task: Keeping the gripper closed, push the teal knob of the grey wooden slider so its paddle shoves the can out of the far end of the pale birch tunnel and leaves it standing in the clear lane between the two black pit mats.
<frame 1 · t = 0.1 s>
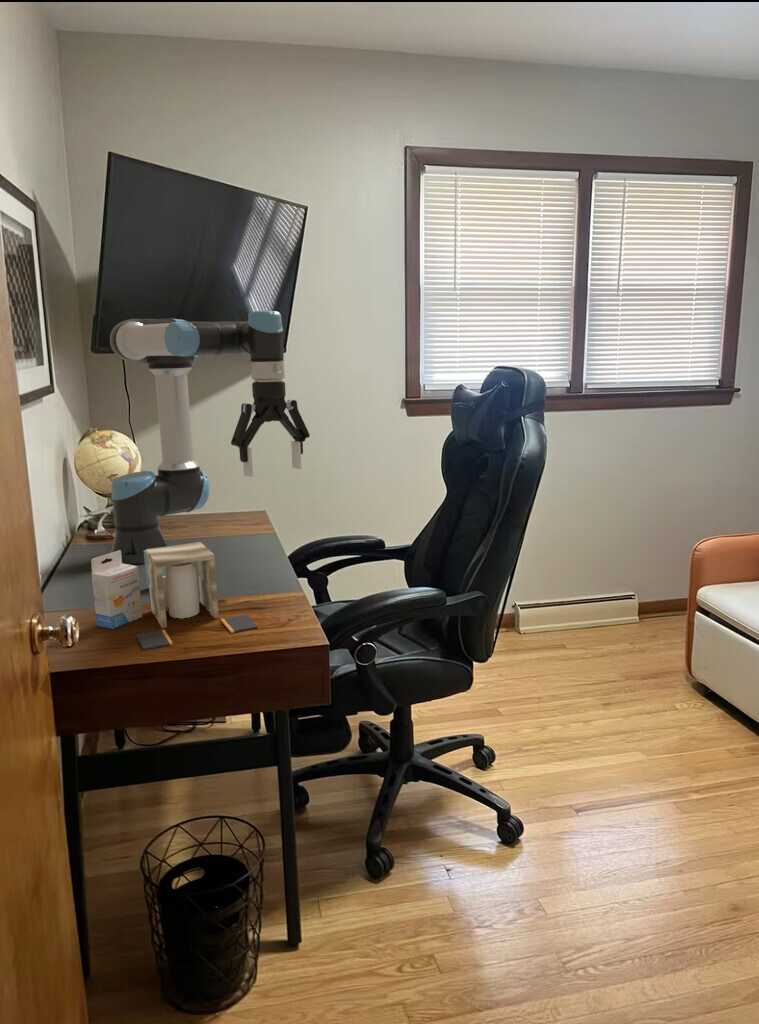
hand: (273, 472, 176), 28 cm above the table, fingers open, 13 cm apart
can: (184, 615, 164), on the table
pit mats: (197, 631, 153), on the table
tunnel: (184, 614, 164), on the table
ink box: (120, 622, 160), on the table
slider: (169, 576, 175), point 5 cm above the table, slide at 0.0 cm
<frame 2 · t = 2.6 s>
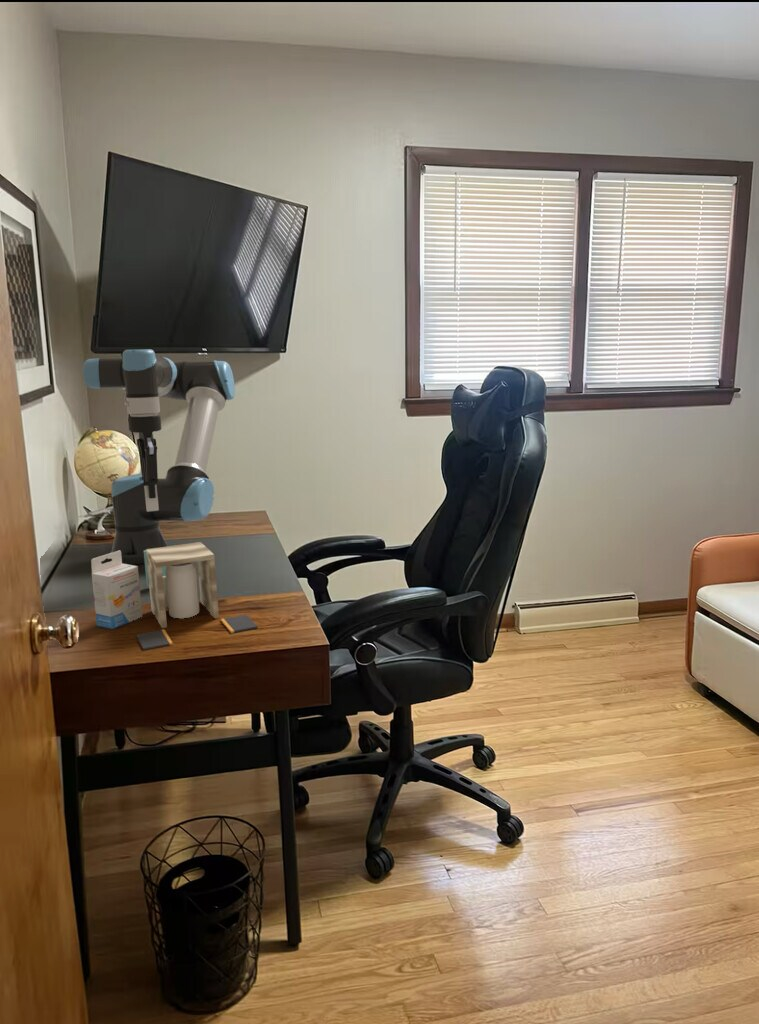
hand: (152, 510, 185), 18 cm above the table, fingers closed
nothing on the table moved.
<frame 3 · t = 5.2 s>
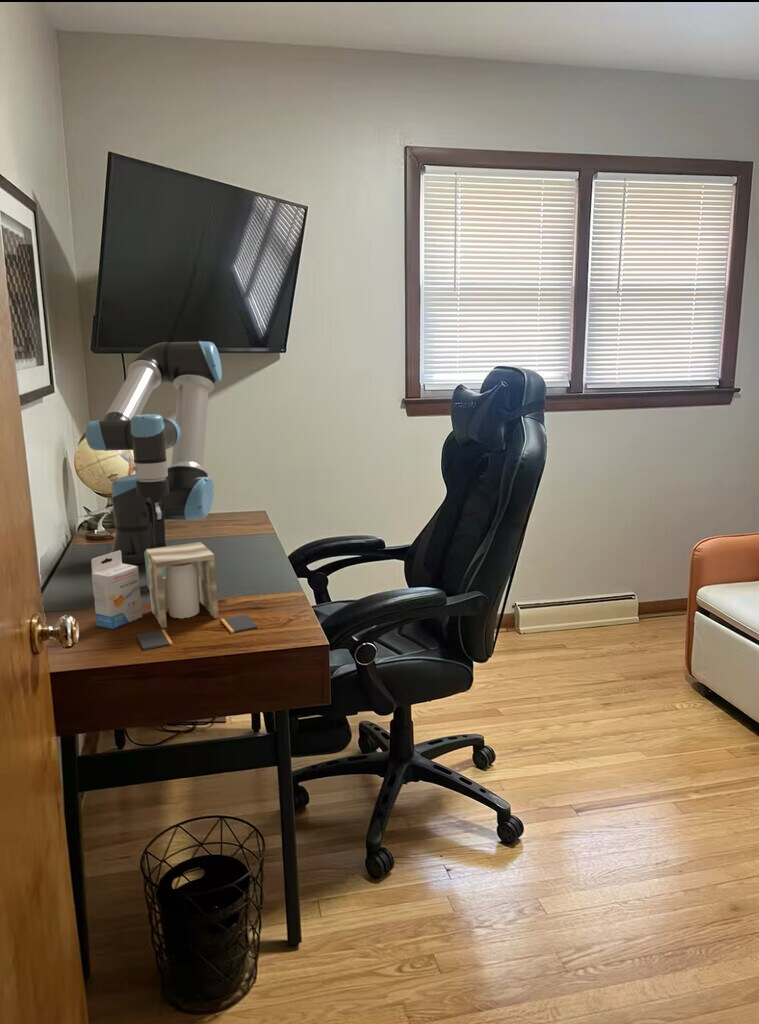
hand: (160, 572, 185), 3 cm above the table, fingers closed
slider: (170, 577, 174), point 5 cm above the table, slide at 0.8 cm, touching gripper
everything else where it was.
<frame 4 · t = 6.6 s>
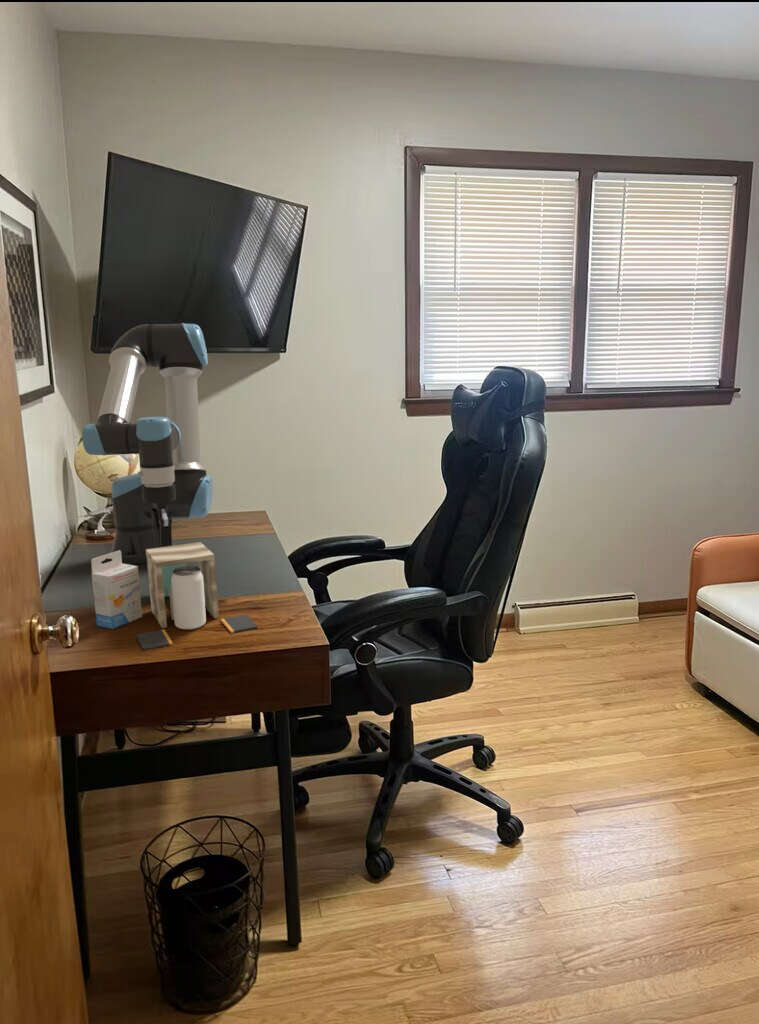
hand: (166, 581, 179), 3 cm above the table, fingers closed
can: (190, 625, 157), on the table, touching slider
slider: (177, 586, 167), point 5 cm above the table, slide at 8.5 cm, touching can, gripper
everything else where it was.
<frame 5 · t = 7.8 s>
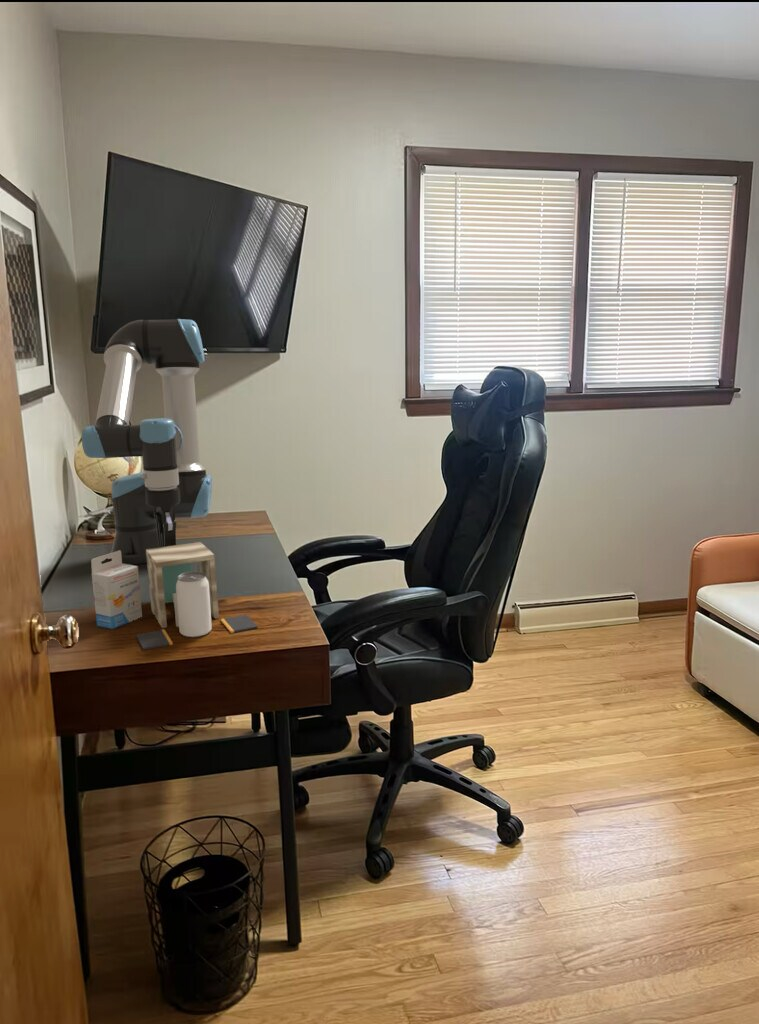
hand: (170, 586, 175), 3 cm above the table, fingers closed
can: (195, 632, 153), on the table, touching slider
slider: (182, 591, 163), point 5 cm above the table, slide at 13.0 cm, touching can, gripper
everything else where it was.
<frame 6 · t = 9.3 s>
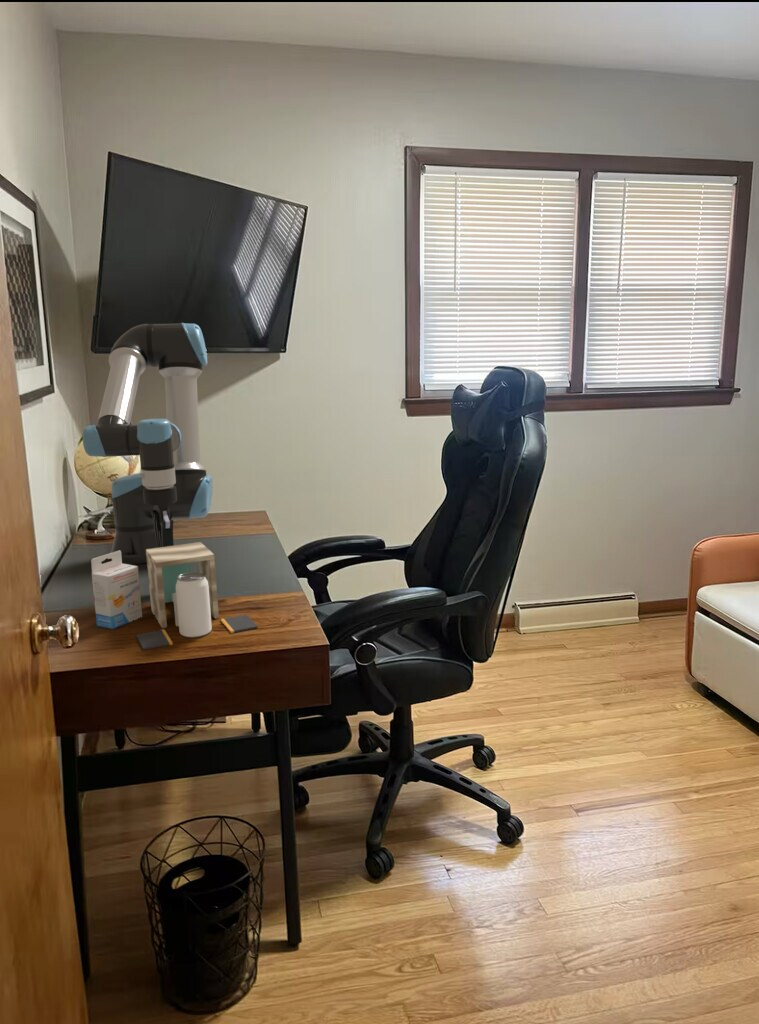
hand: (168, 582, 179), 2 cm above the table, fingers closed
can: (195, 633, 153), on the table
slider: (181, 591, 163), point 5 cm above the table, slide at 12.7 cm
everything else where it was.
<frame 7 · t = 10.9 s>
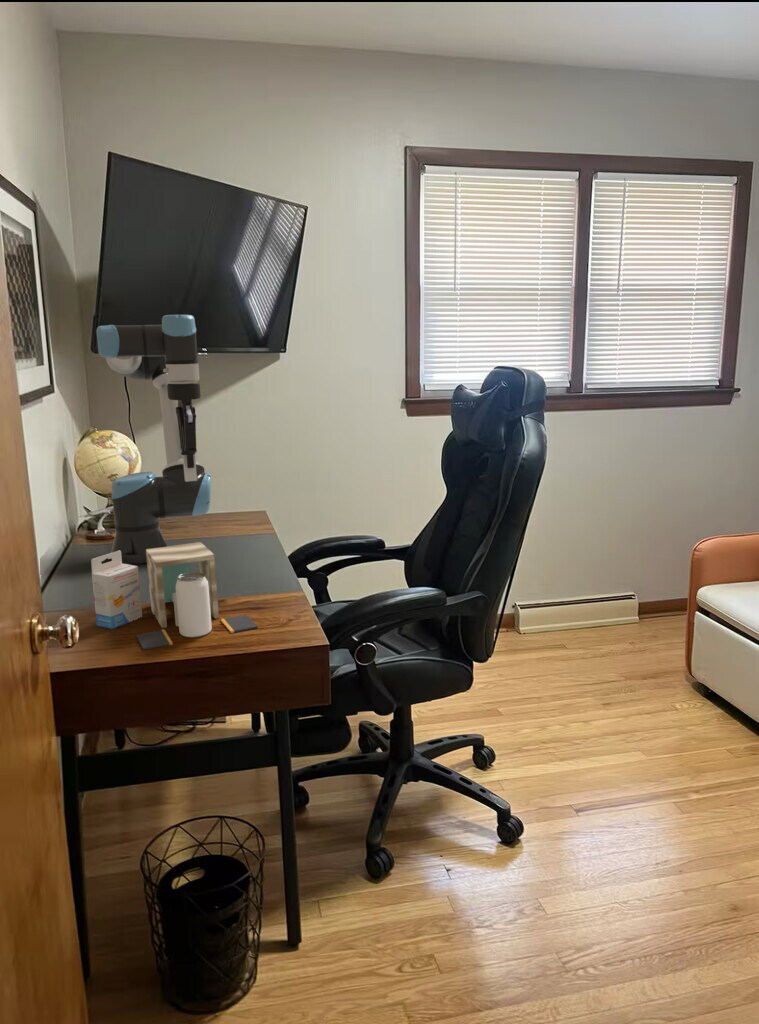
hand: (190, 480, 182), 25 cm above the table, fingers closed
nothing on the table moved.
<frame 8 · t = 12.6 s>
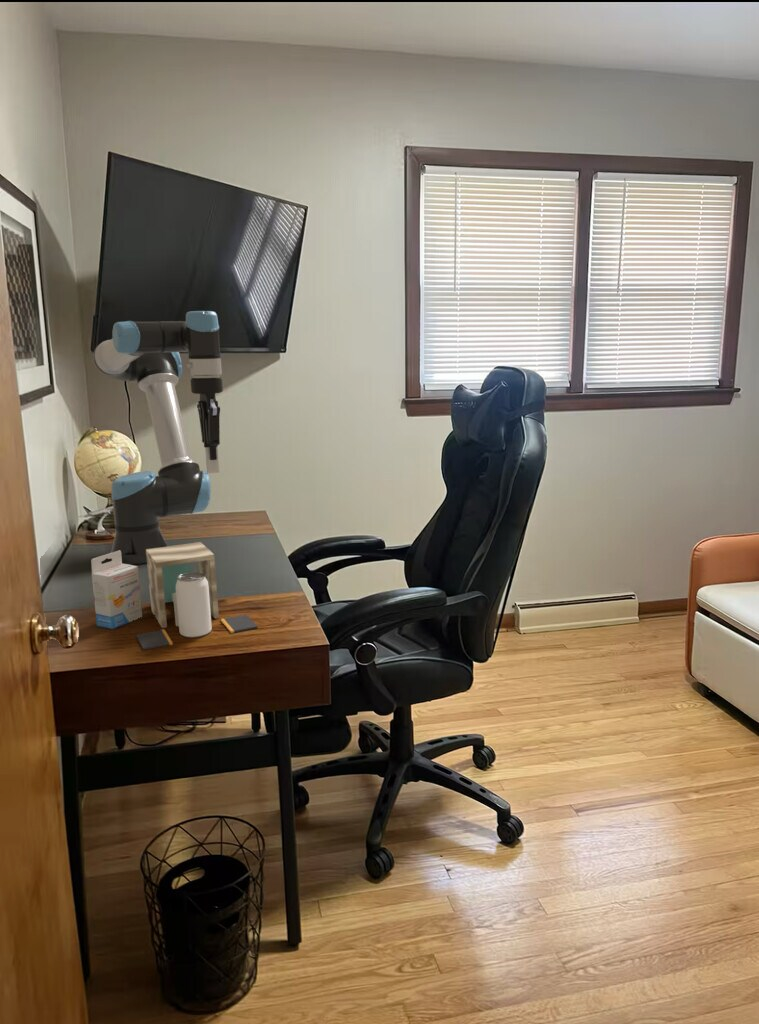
hand: (213, 472, 187), 26 cm above the table, fingers closed
nothing on the table moved.
at the end: can inside the target area on the table beside the tunnel (1.7 cm from its centre), on the table; can tilted 0°; slider slide at 12.7 cm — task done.
